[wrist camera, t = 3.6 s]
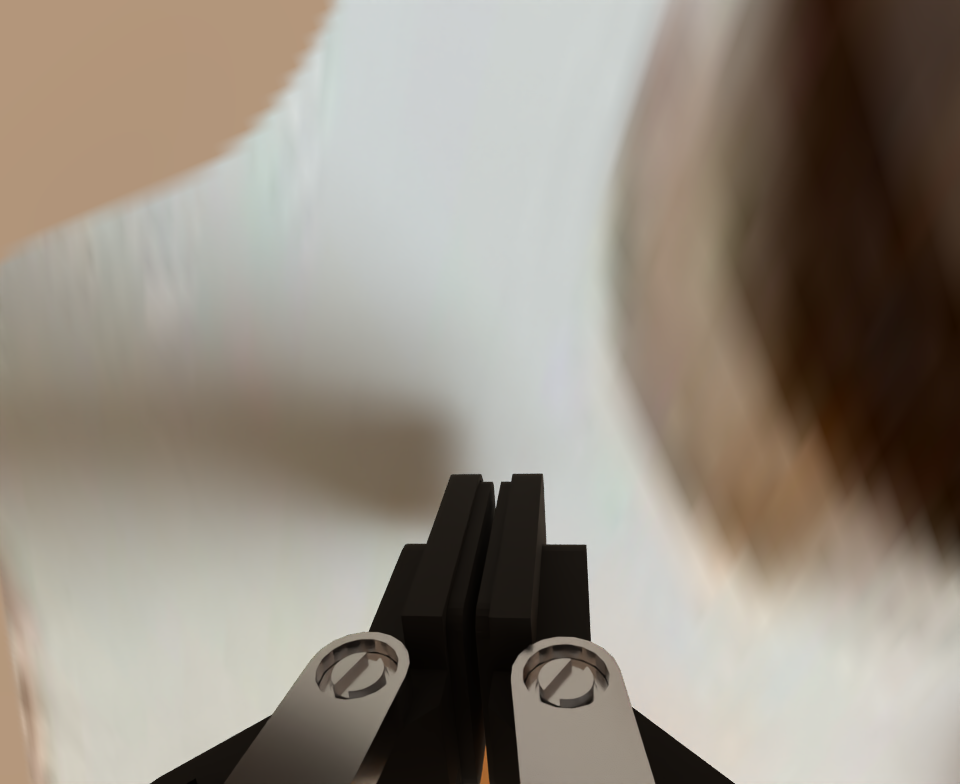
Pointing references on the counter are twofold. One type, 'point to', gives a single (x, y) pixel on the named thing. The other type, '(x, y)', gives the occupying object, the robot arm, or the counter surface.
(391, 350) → the counter surface
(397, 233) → the counter surface
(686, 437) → the counter surface
